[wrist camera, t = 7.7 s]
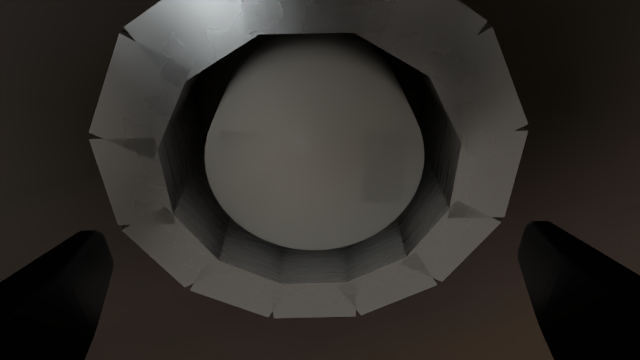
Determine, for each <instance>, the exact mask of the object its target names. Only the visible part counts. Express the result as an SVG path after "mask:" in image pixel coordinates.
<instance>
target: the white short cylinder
mask: <svg viewBox="0 0 640 360" xmlns="http://www.w3.org/2000/svg"><path fill="white" fill-rule="evenodd" d="M204 159H205V168H206V174H207V178H208V181H209V184H210V187H211V189H212V191H213V194H214V195H215V197H216V199H217V200H218V202H219V204H220V205H221V206H222V208H223V209H224V210H225V212H226V213H227V214H228V215H229V216H230V217H231V218H232V219H233V220H234V221H235V222H236V223H237V224H239V225H240V226H241V227H243V228H244V229H245V230H247V231H248V232H250V233H252V234H253V235H255V236H257V237H259V238H261V239H263V240H266V241H268V242H271V243H274V244H277V245H280V246H284V247H288V248H293V249H301V250H326V249H334V248H340V247H344V246H348V245H351V244H355V243H357V242H360V241H362V240H365V239H367V238H369V237H371V236H373V235H375V234H376V233H378V232H379V231H381V230H382V229H384V228H386V227H387V226H388V225H389V224H390V223H392V222H393V221H394V220H395V219H396V218H397V217H398V216H399V215H400V214H401V213H402V212H403V211H404V210H405V208H406V207H407V205H408V204H409V203H410V201H411V200H412V198H413V196H414V194H415V192H416V191H417V188H418V186H419V183H420V180H421V177H422V172H423V168H424V143H423V138H422V134H421V130H420V128H419V125H418V123H417V120H416V118H415V116H414V114H413V112H412V109H411V107H410V105H409V103H408V101H407V99H406V97H405V94H404V92H403V90H402V88H401V86H400V84H399V81H398V79H397V77H396V75H395V73H394V71H393V69H392V68H391V66H390V64H389V63H388V61H387V60H386V59H385V58H384V56H383V55H382V54H381V53H380V52H379V51H378V50H377V49H376V48H375V47H374V46H372V45H371V44H370V43H368V42H367V41H365V40H364V39H363V38H361V37H359V36H357V35H355V34H353V33H305V34H272V35H270V36H269V37H267V38H265V39H263V40H262V41H260V42H259V43H258V44H256V45H255V46H254V47H253V48H251V49H250V50H249V51H248V52H247V53H246V54H245V55H244V57H243V58H242V59H241V61H240V62H239V63H238V65H237V66H236V68H235V70H234V72H233V74H232V76H231V78H230V80H229V83H228V85H227V88H226V90H225V92H224V95H223V97H222V99H221V102H220V104H219V107H218V109H217V111H216V114H215V116H214V118H213V121H212V123H211V126H210V129H209V131H208V134H207V139H206V144H205V158H204Z"/></svg>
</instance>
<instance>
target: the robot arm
mask: <svg viewBox="0 0 640 360" xmlns="http://www.w3.org/2000/svg"><path fill="white" fill-rule="evenodd" d="M518 261H519V265H520V268H521V271H522V274H523V277H524V281H525V284H526V287H527V290H528V293H529V296H530V299H531V303H532V306H533V309H534V312H535V315H536V318H537V321H538V324H539V326H540V329H541V331H542V333H543V336H544V338H545V340H546V342H547V345H548V347H549V349H550V351H551V354H552V356H553V358H554V360H640V275H638V274H636V273H635V272H633V271H631V270H630V269H628V268H626V267H625V266H623V265H621V264H620V263H618V262H616V261H615V260H613V259H611V258H610V257H608V256H606V255H605V254H603V253H601V252H600V251H598V250H596V249H595V248H593V247H591V246H590V245H588V244H586V243H585V242H583V241H581V240H580V239H578V238H576V237H575V236H573V235H571V234H570V233H568V232H566V231H565V230H563V229H561V228H559V227H558V226H556V225H554V224H553V223H551V222H549V221H531V222H529V223H527V225H526V226H525V229H524V232H523V235H522V239H521V242H520V245H519V248H518ZM113 266H114V262H113V257H112V255H111V252H110V249H109V246H108V244H107V241H106V238H105V236H104V234H103V233H102V232H101V231H99V230H88V231H80V232H78V233H76V234H75V235H73V236H72V237H70V238H68V239H67V240H65V241H64V242H62V243H61V244H59V245H58V246H56V247H54V248H53V249H51V250H50V251H48V252H47V253H45V254H44V255H42V256H40V257H39V258H37V259H36V260H34V261H33V262H31V263H30V264H28V265H26V266H25V267H23V268H22V269H20V270H19V271H17V272H16V273H14V274H12V275H11V276H9V277H8V278H6V279H5V280H3V281H1V282H0V360H85V357H86V355H87V352H88V350H89V347H90V345H91V342H92V340H93V337H94V334H95V331H96V328H97V325H98V321H99V318H100V314H101V311H102V307H103V304H104V300H105V297H106V293H107V290H108V286H109V282H110V279H111V275H112V272H113Z"/></svg>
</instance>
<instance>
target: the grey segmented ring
mask: <svg viewBox="0 0 640 360" xmlns="http://www.w3.org/2000/svg"><path fill="white" fill-rule="evenodd" d="M124 28H125V29H124V30H123V31H122V32H120V33H119V36H118V39H117V42H116V45H115V49H114V52H113V55H112V58H111V62H110V65H109V68H108V71H107V75H106V78H105V81H104V84H103V88H102V91H101V94H100V97H99V100H98V104H97V107H96V110H95V113H94V117H93V120H92V123H91V126H90V130H89V133H91V134H93V135H92V136H91V137H90V138H89V141H90V144H91V147H92V150H93V153H94V156H95V159H96V162H97V165H98V168H99V171H100V174H101V177H102V179H103V182H104V185H105V188H106V191H107V194H108V197H109V200H110V203H111V206H112V209H113V212H114V215H115V218H116V221H117V224H118V225H124V226H123V228H122V231H123V232H124V233H125V234H126V235H127V236H128V237H130V238H131V239H132V240H133V241H134V242H135V243H136V244H137V245H138V246H139V247H141V248H142V249H143V250H144V251H145V252H146V253H147V254H148V255H149V256H150V257H152V258H153V259H154V260H155V261H156V262H157V263H158V264H159V265H160V266H162V267H163V268H164V269H165V270H166V271H167V272H168V273H169V274H170V275H171V276H173V277H174V278H175V279H176V280H177V281H178V282H179V283H180V284H181V285H182V286H184V287H187V286H189V285H191V288H190V291H193V292H196V293H199V294H202V295H205V296H207V297H210V298H213V299H216V300H219V301H222V302H225V303H228V304H231V305H233V306H236V307H239V308H242V309H245V310H248V311H251V312H254V313H257V314H260V315H262V316H265V317H269V316H270V314H271V313H272V312H273V316H274V318H309V317H353V316H356V310H357V311H358V312H359V313H360V315H363V314H366V313H368V312H371V311H373V310H376V309H378V308H381V307H383V306H386V305H388V304H391V303H393V302H396V301H398V300H401V299H403V298H406V297H408V296H411V295H413V294H416V293H418V292H421V291H423V290H426V289H428V288H431V287H433V286H436V285H437V282H436V279H437V280H439V281H441V282H443V281H444V280H445V279H446V277H447V276H448V275H449V274H450V273H451V272H452V271H453V270H454V269H455V268H456V267H457V266H458V265H459V264H460V263H461V262H462V261H463V260H464V259H465V258H466V257H467V256H468V255H469V254H470V253H471V252H472V251H473V250H474V249H475V248H476V247H477V246H478V245H479V244H480V243H481V242H482V241H483V240H484V239H485V238H486V237H487V236H488V235H489V234H490V233H491V232H492V231H493V230H494V229H495V228H496V227H497V226H498V225H499V224H500V223H501V221H500V219H499V217H505V214H506V210H507V206H508V203H509V199H510V195H511V192H512V188H513V185H514V181H515V177H516V174H517V170H518V166H519V163H520V159H521V156H522V152H523V148H524V145H525V141H526V137H527V134H528V130H527V129H526V128H525V127H524V126H525V125H527V124H528V122H527V120H526V117H525V114H524V111H523V109H522V106H521V103H520V100H519V98H518V95H517V92H516V90H515V87H514V84H513V81H512V79H511V76H510V73H509V70H508V68H507V65H506V62H505V60H504V57H503V54H502V51H501V49H500V46H499V43H498V40H497V38H496V35H495V32H494V30H493V27H492V26H491V25H489V24H488V23H487V20H486V19H485V18H483V17H482V16H481V15H479V14H478V13H477V12H475V11H474V10H472V9H471V8H470V7H468V6H467V5H466V4H464V3H463V2H462V1H460V0H160V1H158V2H157V3H156V4H154V5H153V6H152V7H150V8H149V9H148V10H146V11H145V12H143V13H142V14H141V15H139V16H138V17H137V18H135V19H134V20H133V21H131V22H130V23H129V24H127V25H126V26H124ZM305 33H355V34H357V35H359V36H361V37H362V38H364V39H366V40H367V41H369V42H371V43H373V44H374V45H376V46H378V47H379V48H381V49H383V50H385V51H386V52H388V53H390V54H391V55H393V56H395V57H397V58H398V59H400V60H402V61H404V62H405V63H407V64H409V65H410V66H412V67H414V68H416V69H417V70H419V71H420V73H421V75H422V77H423V79H424V81H425V83H426V92H425V100H424V108H423V116H422V124H421V134H422V138H423V143H424V168H423V172H422V177H421V180H420V183H419V186H418V188H417V191H416V192H415V194H414V196H413V198H412V200H411V201H410V203H409V204H408V205H407V207H406V208H405V210H404V211H403V212H402V213H401V214H400V215H399V216H398V217H397V218H396V219H395V220H394V221H393V222H392V223H390V224H389V225H388V226H387V227H386V228H384V229H382V230H381V231H379V232H378V233H376V234H375V235H373V236H371V237H369V238H367V239H365V240H362V241H360V242H357V243H355V244H351V245H348V246H344V247H340V248H334V249H326V250H301V249H293V248H288V247H284V246H280V245H277V244H274V243H271V242H268V241H266V240H263V239H261V238H259V237H257V236H255V235H253V234H252V233H250V232H248V231H247V230H245V229H244V228H243V227H241V226H240V225H239V224H237V223H236V222H235V221H234V220H233V219H232V218H231V217H230V216H229V215H228V214H227V213H226V212H225V210H224V209H223V208H222V206H221V205H220V204H219V202H218V200H217V199H216V197H215V195H214V194H213V191H212V189H211V187H210V184H209V181H208V178H207V174H206V168H205V159H204V158H205V146H204V145H203V142H202V136H201V131H200V125H199V120H198V114H197V108H196V103H195V97H194V92H193V88H194V86H195V83H196V81H197V79H198V76H199V74H200V72H201V71H202V70H204V69H205V68H207V67H209V66H210V65H212V64H213V63H215V62H216V61H218V60H220V59H221V58H223V57H224V56H226V55H227V54H229V53H231V52H232V51H234V50H235V49H237V48H238V47H240V46H242V45H243V44H245V43H246V42H248V41H249V40H251V39H253V38H254V37H256V36H257V35H259V34H305Z"/></svg>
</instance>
